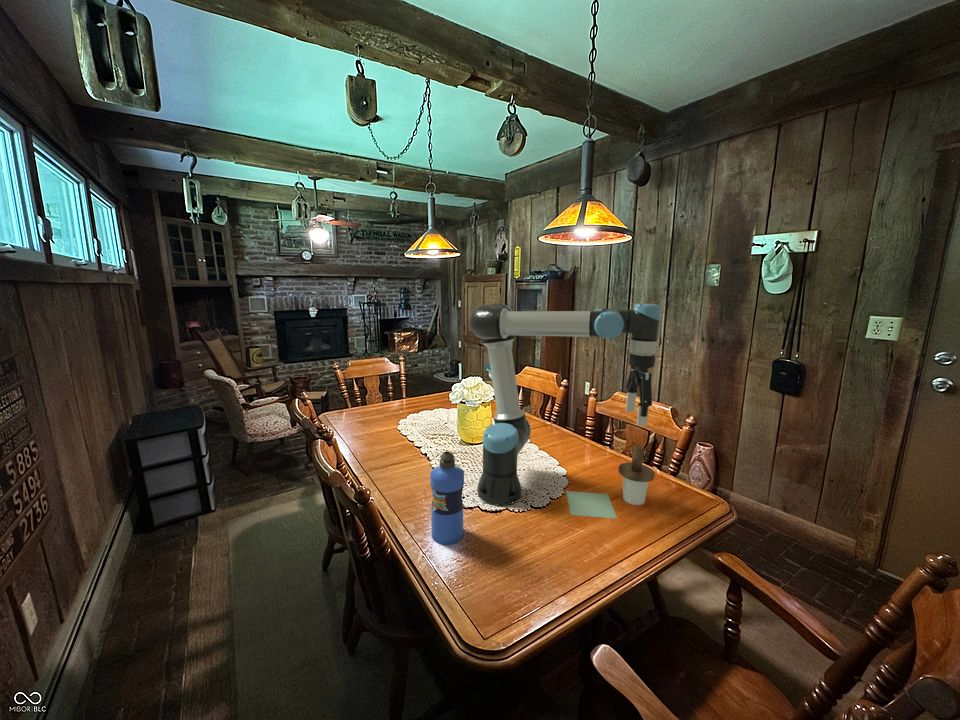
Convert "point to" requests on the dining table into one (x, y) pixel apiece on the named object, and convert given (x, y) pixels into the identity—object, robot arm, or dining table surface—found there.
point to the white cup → (634, 491)
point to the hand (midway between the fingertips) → (635, 418)
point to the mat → (590, 504)
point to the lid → (637, 467)
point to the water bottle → (447, 501)
